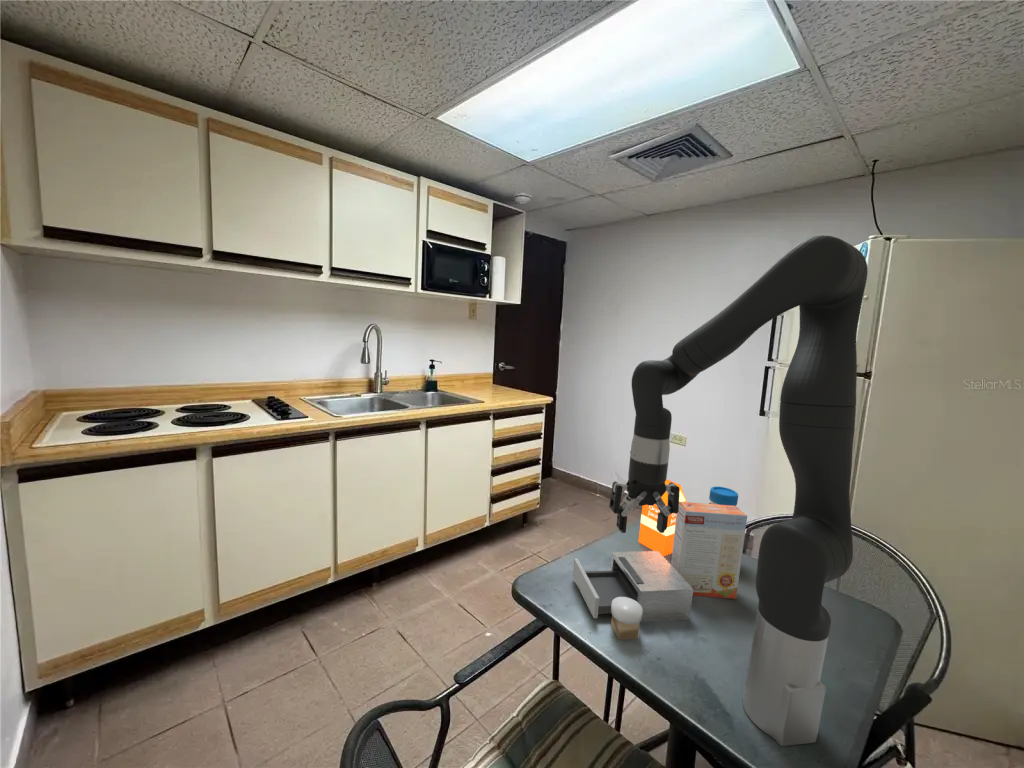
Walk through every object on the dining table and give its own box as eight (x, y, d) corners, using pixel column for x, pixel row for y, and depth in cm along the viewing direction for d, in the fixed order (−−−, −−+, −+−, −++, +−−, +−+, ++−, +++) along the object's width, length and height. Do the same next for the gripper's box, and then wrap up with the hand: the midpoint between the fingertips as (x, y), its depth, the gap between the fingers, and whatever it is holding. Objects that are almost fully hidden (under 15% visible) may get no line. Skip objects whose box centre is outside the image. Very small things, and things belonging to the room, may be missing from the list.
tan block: (637, 638, 82) (639, 620, 81) (618, 639, 81) (620, 621, 80) (629, 624, 86) (631, 606, 85) (610, 625, 85) (612, 607, 84)
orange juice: (663, 556, 113) (672, 487, 110) (637, 541, 120) (645, 476, 117) (680, 549, 117) (689, 482, 114) (655, 535, 124) (662, 472, 122)
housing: (689, 619, 88) (693, 588, 87) (637, 621, 86) (640, 590, 85) (654, 577, 103) (658, 550, 102) (609, 578, 101) (612, 551, 100)
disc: (647, 623, 80) (648, 616, 80) (618, 625, 79) (618, 617, 79) (633, 603, 86) (634, 596, 86) (606, 604, 85) (607, 597, 85)
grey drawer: (646, 615, 87) (648, 596, 86) (593, 618, 85) (595, 598, 84) (618, 574, 101) (619, 557, 100) (572, 575, 99) (574, 558, 99)
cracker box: (724, 584, 102) (736, 504, 99) (736, 600, 96) (749, 515, 93) (667, 579, 102) (677, 499, 100) (675, 595, 96) (686, 510, 94)
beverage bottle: (729, 556, 115) (739, 488, 113) (734, 572, 107) (745, 499, 105) (696, 549, 118) (705, 482, 115) (698, 564, 110) (708, 493, 107)
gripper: (623, 462, 80) (615, 540, 82) (691, 463, 82) (682, 540, 84) (609, 450, 88) (602, 523, 90) (672, 452, 89) (664, 522, 92)
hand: (641, 531), depth 87 cm, fingers open, 8 cm apart
